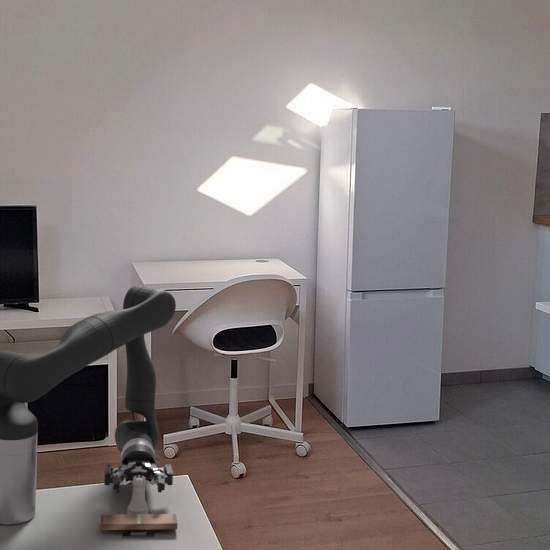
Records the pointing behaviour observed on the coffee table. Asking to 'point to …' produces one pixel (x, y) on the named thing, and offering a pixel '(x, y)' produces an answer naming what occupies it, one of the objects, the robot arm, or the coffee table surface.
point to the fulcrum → (138, 533)
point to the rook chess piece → (138, 497)
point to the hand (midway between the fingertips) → (139, 488)
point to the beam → (137, 521)
